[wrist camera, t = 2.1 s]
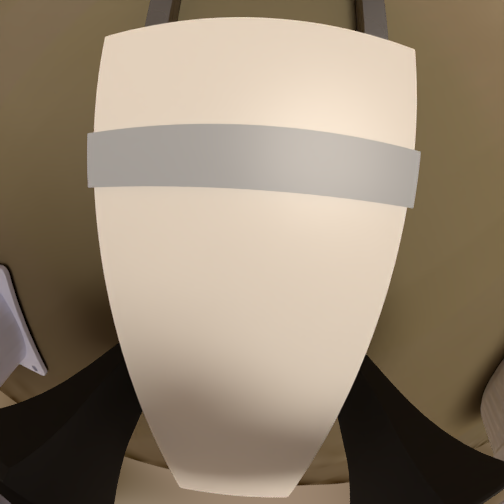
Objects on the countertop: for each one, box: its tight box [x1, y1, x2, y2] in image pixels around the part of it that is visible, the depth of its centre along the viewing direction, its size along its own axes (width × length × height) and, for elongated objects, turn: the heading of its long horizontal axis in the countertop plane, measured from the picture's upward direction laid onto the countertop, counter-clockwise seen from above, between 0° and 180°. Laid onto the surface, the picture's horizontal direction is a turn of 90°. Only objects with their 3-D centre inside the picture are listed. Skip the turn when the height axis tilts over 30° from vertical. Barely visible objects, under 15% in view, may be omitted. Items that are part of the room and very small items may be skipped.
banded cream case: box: [87, 17, 421, 497], centre depth 7 cm, size 5×14×5 cm, turn 176°
